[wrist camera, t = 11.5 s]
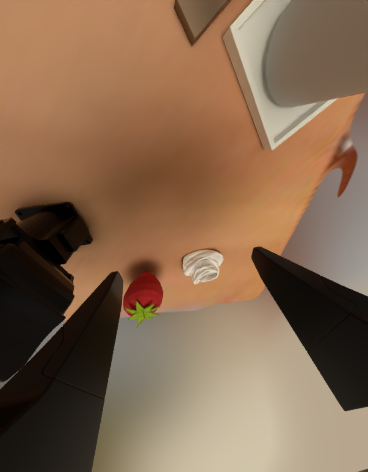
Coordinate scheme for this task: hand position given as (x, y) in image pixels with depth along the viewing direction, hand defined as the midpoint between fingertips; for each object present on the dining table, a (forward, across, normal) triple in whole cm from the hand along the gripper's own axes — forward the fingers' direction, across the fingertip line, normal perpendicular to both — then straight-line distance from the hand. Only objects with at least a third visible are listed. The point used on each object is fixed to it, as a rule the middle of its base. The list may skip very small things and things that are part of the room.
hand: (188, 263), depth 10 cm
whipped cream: (+13, -4, +14) cm, 20 cm away
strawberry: (+13, +7, +14) cm, 20 cm away
